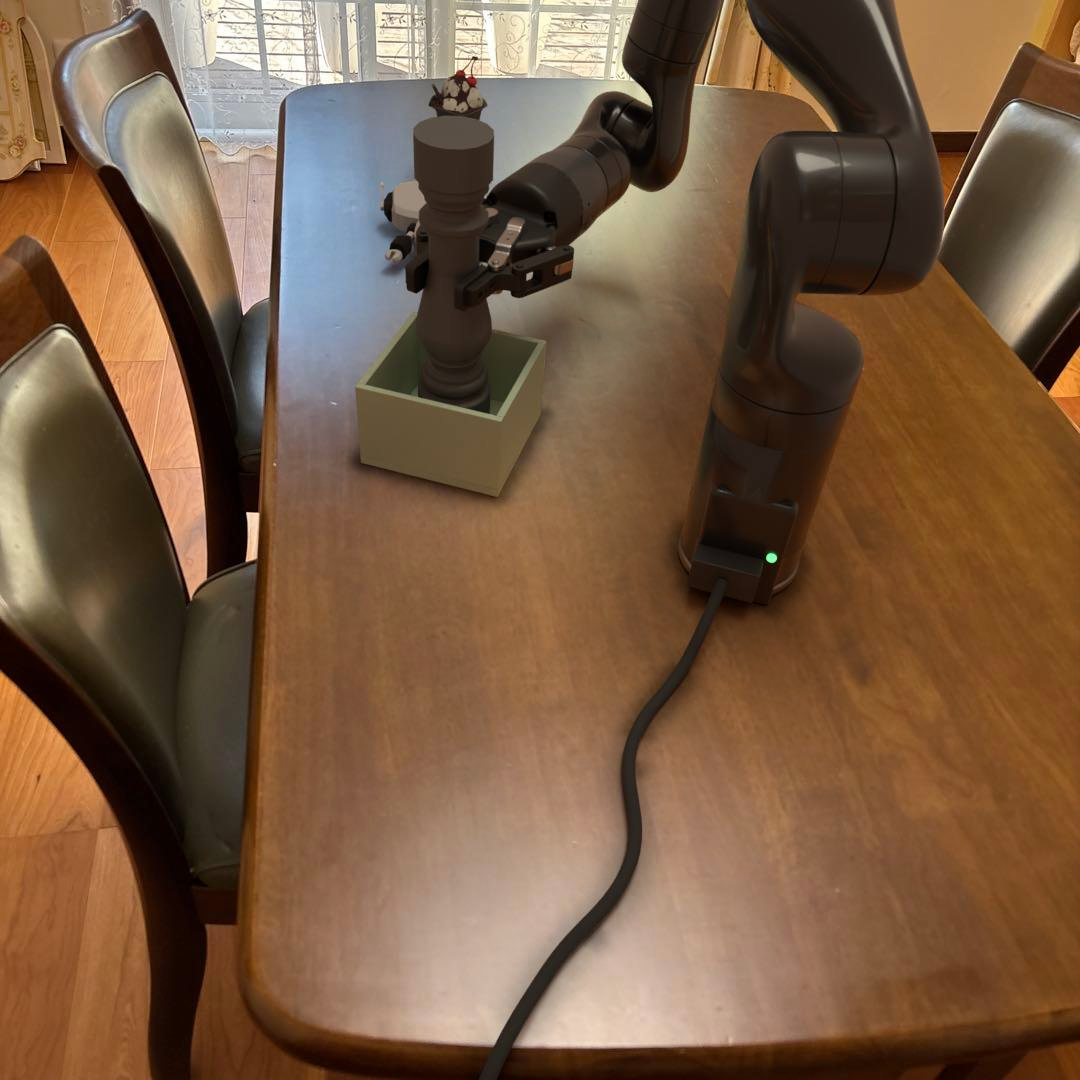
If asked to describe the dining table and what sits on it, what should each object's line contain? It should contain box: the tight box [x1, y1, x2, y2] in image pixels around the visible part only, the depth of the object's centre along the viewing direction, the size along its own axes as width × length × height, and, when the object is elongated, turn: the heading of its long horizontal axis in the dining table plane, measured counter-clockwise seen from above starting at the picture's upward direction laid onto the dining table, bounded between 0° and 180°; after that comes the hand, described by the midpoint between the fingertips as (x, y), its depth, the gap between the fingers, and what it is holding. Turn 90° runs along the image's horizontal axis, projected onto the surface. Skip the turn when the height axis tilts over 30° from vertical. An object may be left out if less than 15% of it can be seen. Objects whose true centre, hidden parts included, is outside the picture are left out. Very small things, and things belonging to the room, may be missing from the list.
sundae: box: [428, 55, 488, 121], centre depth 120 cm, size 7×7×15 cm
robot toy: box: [380, 179, 490, 264], centre depth 113 cm, size 12×4×15 cm
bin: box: [354, 311, 547, 498], centre depth 87 cm, size 12×12×8 cm
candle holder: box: [412, 116, 495, 414], centre depth 80 cm, size 6×6×25 cm
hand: (434, 290), depth 77 cm, fingers closed on candle holder, 3 cm apart
